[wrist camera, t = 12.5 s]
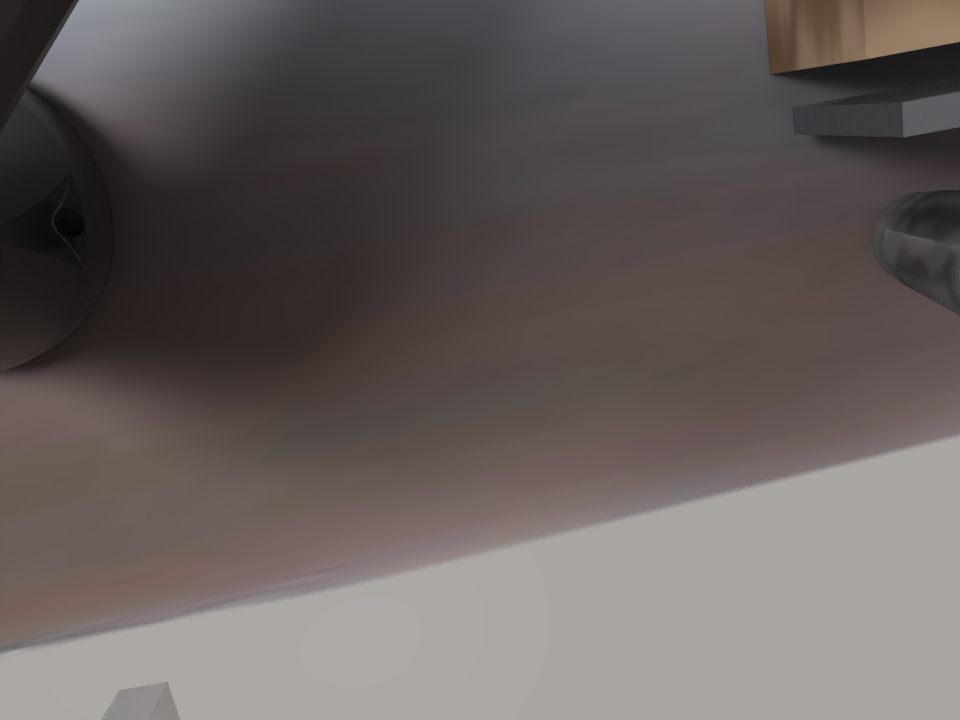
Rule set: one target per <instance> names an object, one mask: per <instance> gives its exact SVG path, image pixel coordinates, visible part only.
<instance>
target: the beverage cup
mask: <svg viewBox="0 0 960 720" xmlns="http://www.w3.org/2000/svg"><path fill="white" fill-rule="evenodd" d="M872 244H873V253H874V255H875V258H876V260H877V262H878V264H879V265H880V266H881V267H882V268H883V269H884V270H885V271H886V272H887V273H888V274H890V275H892V276H894V277H895V278H897V279H898V280H899V281H900V282H901V283H903V284H904V285H906V286H908V287H910V288H912V289H913V290H915V291H917V292H919V293H921V294H922V295H924V296H926V297H928V298H930V299H931V300H933V301H935V302H937V303H939V304H940V305H942V306H944V307H946V308H948V309H949V310H951V311H953V312H955V313H957V314H958V315H960V190H943V191H932V192H926V193H921V192H918V193H914V194H909V195H905V196H903V197H902V198H900V199H898V200H896V201H895V202H893V203H892V204H891V205H890V206H889V207H888V208H887V209H886V210H885V211H884V212H883V213H882V214H881V216H880V218H879V220H878V222H877V224H876V225H875V229H874V234H873V238H872Z"/></svg>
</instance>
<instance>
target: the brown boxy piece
mask: <svg viewBox="0 0 960 720" xmlns="http://www.w3.org/2000/svg"><path fill="white" fill-rule="evenodd" d="M764 1H765V14H766V27H767V39H768V52H769V64H770V74H776V73H783V72H789V71H795V70H801V69H808V68H814V67H820V66H827V65H833V64H839V63H845V62H852V61H858V60H864V59H870V58H875V57H881V56H886V55H891V54H897V53H902V52H908V51H913V50H918V49H924V48H929V47H935V46H940V45H945V44H951V43H956V42H960V0H764Z"/></svg>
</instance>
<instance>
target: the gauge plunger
mask: <svg viewBox="0 0 960 720" xmlns="http://www.w3.org/2000/svg"><path fill="white" fill-rule="evenodd" d="M793 122H794V134H806V135H839V136H873V137H909V136H914V135H920V134H925V133H931V132H936V131H942V130H947V129H952V128H958V127H960V77H956V78H951V79H945V80H940V81H935V82H929V83H924V84H918V85H913V86H908V87H902V88H897V89H891V90H886V91H880V92H875V93H870V94H864V95H859V96H853V97H848V98H842V99H837V100H832V101H826V102H821V103H815V104H810V105H804V106H799V107H794V108H793Z"/></svg>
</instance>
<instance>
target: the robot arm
mask: <svg viewBox="0 0 960 720" xmlns="http://www.w3.org/2000/svg"><path fill="white" fill-rule="evenodd" d="M78 1H79V0H0V371H4V370H7V369H10V368H13V367H16V366H18V365H20V364H23V363H25V362H27V361H29V360H31V359H33V358H34V357H36V356H38V355H40V354H42V353H44V352H45V351H47V350H49V349H51V348H52V347H54V346H56V345H57V344H59V343H60V342H62V341H63V340H64V339H65V338H67V337H68V336H69V335H70V334H71V333H72V332H74V331H75V330H76V329H77V328H78V327H79V325H80V324H81V323H82V322H83V321H84V320H85V318H86V317H87V316H88V315H89V313H90V312H91V310H92V309H93V307H94V305H95V304H96V302H97V300H98V298H99V296H100V294H101V292H102V289H103V287H104V284H105V281H106V278H107V275H108V271H109V267H110V262H111V255H112V242H113V232H112V219H111V212H110V207H109V202H108V198H107V195H106V191H105V188H104V185H103V182H102V179H101V177H100V174H99V172H98V170H97V168H96V165H95V164H94V162H93V160H92V158H91V156H90V154H89V153H88V151H87V149H86V148H85V146H84V144H83V143H82V142H81V140H80V139H79V137H78V136H77V135H76V133H75V132H74V131H73V130H72V128H71V127H70V126H69V125H68V123H67V122H66V121H65V120H64V119H63V118H62V117H61V116H60V115H59V114H58V113H57V112H56V111H55V110H54V109H53V108H52V107H51V106H50V105H48V104H47V103H46V102H45V101H44V100H42V99H41V98H40V97H39V96H37V95H36V94H34V93H33V92H32V91H30V90H29V89H27V87H28V86H29V84H30V82H31V80H32V79H33V77H34V75H35V74H36V72H37V70H38V69H39V67H40V65H41V64H42V62H43V60H44V58H45V57H46V55H47V53H48V52H49V50H50V48H51V47H52V45H53V43H54V41H55V40H56V38H57V36H58V35H59V33H60V31H61V30H62V28H63V26H64V25H65V23H66V21H67V19H68V18H69V16H70V14H71V13H72V11H73V9H74V8H75V6H76V4H77V2H78ZM102 720H180V718H179V715H178V713H177V709H176V706H175V703H174V700H173V697H172V694H171V691H170V688H169V685H168V682H165V683H159V684H153V685H148V686H142V687H136V688H130V689H124V690H119V691H118V693H117V695H116V697H115V698H114V700H113V702H112V703H111V705H110V707H109V708H108V710H107V711H106V713H105V715H104V716H103V718H102Z"/></svg>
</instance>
